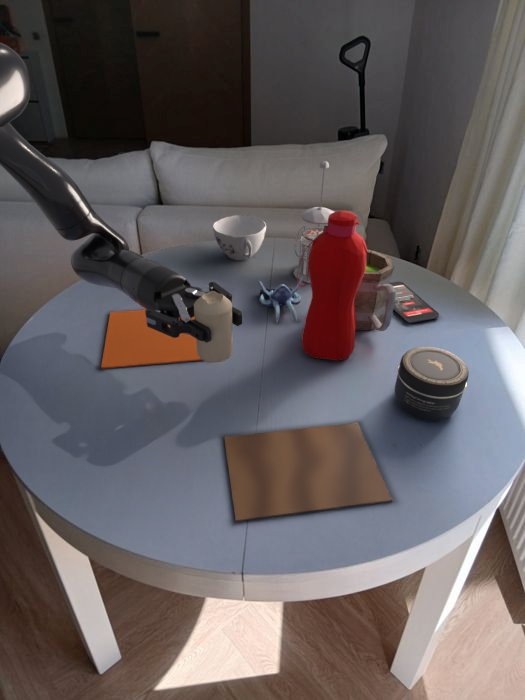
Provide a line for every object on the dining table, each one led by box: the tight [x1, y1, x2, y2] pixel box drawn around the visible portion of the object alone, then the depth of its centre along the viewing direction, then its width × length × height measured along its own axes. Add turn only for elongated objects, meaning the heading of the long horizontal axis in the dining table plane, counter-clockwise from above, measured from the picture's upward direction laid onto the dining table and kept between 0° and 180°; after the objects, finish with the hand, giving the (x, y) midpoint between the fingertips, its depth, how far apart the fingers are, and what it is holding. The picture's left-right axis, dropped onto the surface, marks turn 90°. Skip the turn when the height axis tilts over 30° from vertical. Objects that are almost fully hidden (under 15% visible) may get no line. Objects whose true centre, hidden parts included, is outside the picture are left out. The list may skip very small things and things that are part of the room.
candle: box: [194, 291, 234, 363], centre depth 73 cm, size 6×6×10 cm
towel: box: [100, 309, 203, 370], centre depth 92 cm, size 18×18×1 cm
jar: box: [394, 346, 470, 423], centre depth 75 cm, size 10×10×8 cm
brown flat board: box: [223, 422, 393, 522], centre depth 66 cm, size 20×14×1 cm
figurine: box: [258, 277, 303, 324], centre depth 99 cm, size 10×12×8 cm
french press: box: [293, 160, 335, 284], centre depth 105 cm, size 10×12×25 cm
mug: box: [354, 249, 396, 332], centre depth 93 cm, size 16×11×12 cm
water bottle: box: [296, 210, 368, 361], centre depth 82 cm, size 9×11×25 cm
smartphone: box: [386, 281, 440, 324], centre depth 102 cm, size 7×1×15 cm
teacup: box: [212, 214, 267, 261], centre depth 117 cm, size 15×12×8 cm
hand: (225, 327), depth 71 cm, fingers closed on candle, 5 cm apart
